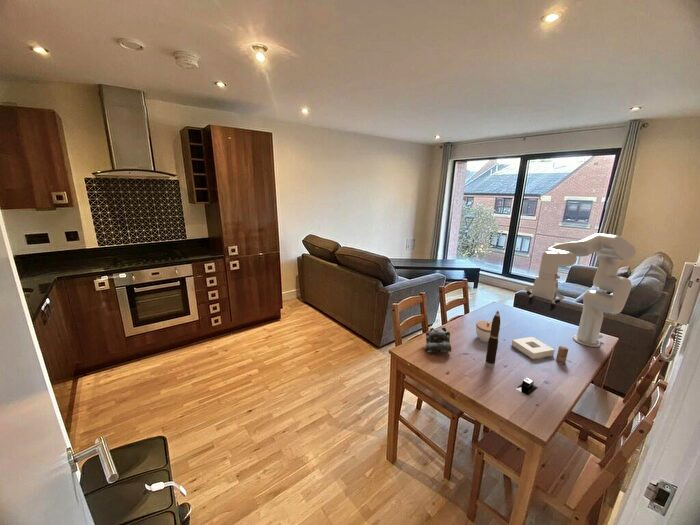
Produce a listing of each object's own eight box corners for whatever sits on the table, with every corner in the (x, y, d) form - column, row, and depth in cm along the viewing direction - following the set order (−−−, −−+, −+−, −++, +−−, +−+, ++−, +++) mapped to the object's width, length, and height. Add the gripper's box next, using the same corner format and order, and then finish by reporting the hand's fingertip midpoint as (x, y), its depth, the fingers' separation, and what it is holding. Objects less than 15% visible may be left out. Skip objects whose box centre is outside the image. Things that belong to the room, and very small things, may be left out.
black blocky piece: (525, 379, 135) (526, 371, 134) (541, 388, 130) (543, 380, 128) (511, 389, 129) (513, 381, 128) (528, 399, 123) (530, 390, 122)
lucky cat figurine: (420, 352, 156) (420, 326, 160) (430, 351, 165) (429, 327, 169) (447, 354, 147) (446, 326, 150) (455, 353, 156) (454, 327, 159)
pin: (559, 359, 151) (562, 345, 149) (567, 363, 147) (570, 349, 145) (553, 360, 150) (556, 346, 148) (561, 364, 146) (564, 350, 144)
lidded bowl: (502, 342, 167) (505, 325, 164) (486, 346, 162) (488, 329, 159) (485, 332, 178) (487, 316, 175) (469, 336, 174) (472, 319, 171)
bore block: (531, 342, 167) (532, 336, 166) (553, 356, 154) (554, 349, 153) (511, 346, 163) (512, 339, 162) (532, 360, 150) (533, 353, 149)
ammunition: (486, 361, 149) (494, 308, 141) (495, 364, 146) (504, 310, 138) (483, 365, 145) (491, 311, 138) (493, 368, 143) (502, 314, 135)
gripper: (570, 278, 139) (563, 311, 143) (531, 270, 152) (526, 300, 157) (564, 281, 135) (557, 314, 139) (525, 272, 148) (520, 303, 152)
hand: (541, 307), depth 148 cm, fingers open, 9 cm apart
